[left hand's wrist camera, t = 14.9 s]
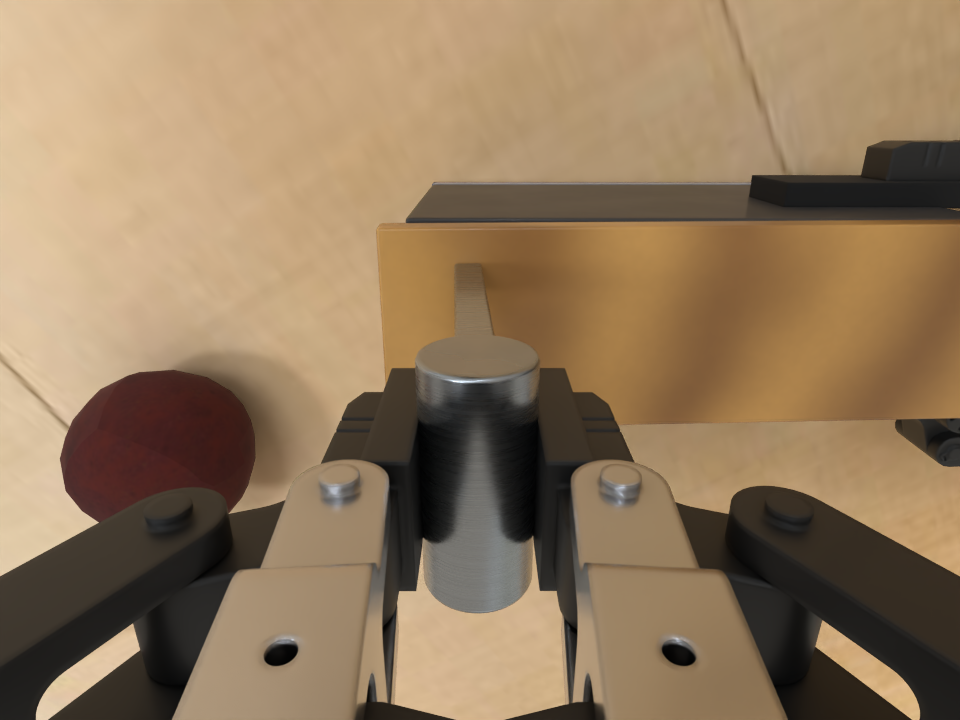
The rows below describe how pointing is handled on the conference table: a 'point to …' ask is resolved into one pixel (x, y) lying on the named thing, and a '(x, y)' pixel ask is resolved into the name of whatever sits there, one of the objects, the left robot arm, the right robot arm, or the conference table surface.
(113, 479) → the dark red ball
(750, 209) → the chest
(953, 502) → the conference table surface
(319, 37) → the conference table surface
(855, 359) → the lid
